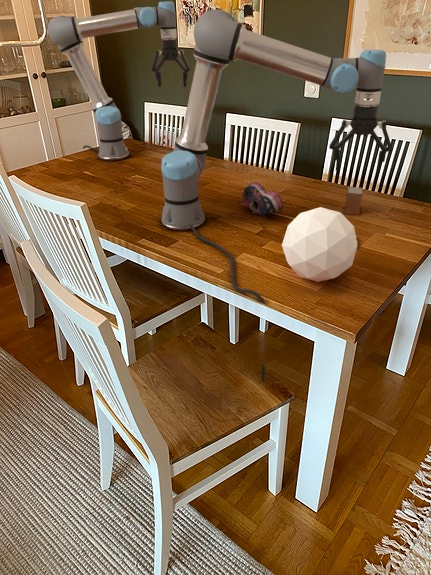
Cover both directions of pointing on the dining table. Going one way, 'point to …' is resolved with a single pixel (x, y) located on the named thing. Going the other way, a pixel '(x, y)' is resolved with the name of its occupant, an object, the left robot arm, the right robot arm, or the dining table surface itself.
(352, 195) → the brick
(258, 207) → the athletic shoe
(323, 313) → the dining table surface
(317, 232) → the sphere
